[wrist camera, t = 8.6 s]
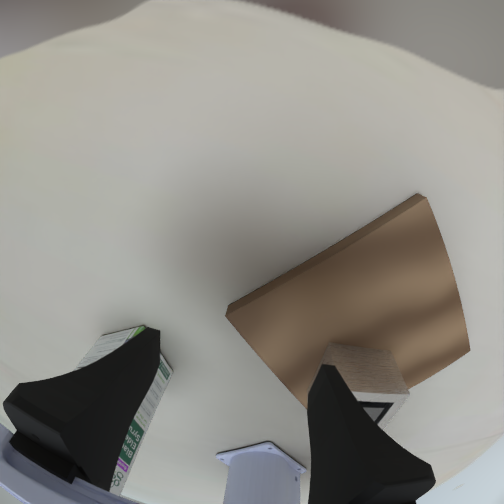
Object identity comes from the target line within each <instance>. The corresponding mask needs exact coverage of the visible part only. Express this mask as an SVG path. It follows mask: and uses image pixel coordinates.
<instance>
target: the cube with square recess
mask: <svg viewBox="0 0 504 504" xmlns="http://www.w3.org/2000/svg"><path fill="white" fill-rule="evenodd" d="M322 364H327V365H335V367H336V368H337V370H338V371H339V373H340V375H341V376H342V378H343V379H344V381H345V383H346V384H347V386H348V387H349V389H350V390H351V392H352V393H353V395H354V396H355V398H356V399H357V400H358V401H368V402H383V405H384V409H383V411H382V412H381V413H380V415H379V416H378V417H377V419H376V420H375V421H374V422H375V423H376V424H377V425H378V426H379V427H380V428H381V429H382V430H383V429H384V428H385V426H386V425H387V424H388V423H389V421H390V420H391V419H392V418H393V416H394V415H395V414H396V413H397V411H398V410H399V409H400V407H401V406H402V405H403V403H404V402H405V401H406V399H407V398H408V397H409V395H410V393H409V391H408V388H407V386H406V384H405V381H404V379H403V377H402V374H401V372H400V370H399V368H398V365H397V363H396V361H395V359H394V356H393V354H392V352H391V351H387V350H379V349H371V348H364V347H357V346H350V345H343V344H336V343H330V342H329V344H328V346H327V348H326V350H325V353H324V355H323V357H322V359H321V362H320V364H319V366H318V368H317V370H316V372H315V374H314V377H313V379H312V381H311V383H310V385H309V387H308V389H307V403H308V393H309V391H310V389H311V386H312V384H313V382H314V380H315V378H316V376H317V374H318V371H319V369H320V367H321V365H322Z"/></svg>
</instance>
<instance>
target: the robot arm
mask: <svg viewBox="0 0 504 504" xmlns="http://www.w3.org/2000/svg"><path fill="white" fill-rule="evenodd" d="M159 365H160V331H159V330H156V329H152V328H149V327H147V328H145V329H144V330H143V331H141V332H140V333H138V334H137V335H136V336H134V337H133V338H132V339H130V340H129V341H127V342H126V343H124V344H123V345H121V346H120V347H119V348H117V349H116V350H114V351H112V352H111V353H109V354H107V355H106V356H104V357H102V358H101V359H99V360H97V361H95V362H93V363H91V364H89V365H87V366H85V367H83V368H80V369H78V370H75V371H72V372H70V373H67V374H64V375H61V376H57V377H54V378H50V379H45V380H40V381H34V382H27V383H19V384H18V385H17V386H16V387H15V389H14V390H13V391H12V392H11V393H10V395H9V396H8V397H7V398H6V399H5V401H4V402H3V407H4V410H5V412H6V414H7V416H8V417H9V419H10V420H11V422H12V423H13V425H14V426H15V428H16V429H17V431H16V432H15V434H13V433H12V432H11V431H10V430H8V429H7V428H6V427H5V426H3V425H2V424H1V423H0V486H1V487H2V488H4V489H5V490H6V491H7V492H9V493H10V494H11V495H13V496H14V497H15V498H17V499H18V500H19V501H21V502H22V503H24V504H139V503H136V502H133V501H131V500H128V499H125V498H123V497H120V496H117V495H115V494H112V493H110V487H111V484H112V480H113V476H114V472H115V469H116V465H117V462H118V459H119V455H120V453H121V450H122V447H123V444H124V441H125V438H126V436H127V433H128V430H129V428H130V425H131V423H132V421H133V418H134V416H135V415H136V413H137V411H138V409H139V407H140V405H141V403H142V402H143V400H144V398H145V396H146V394H147V392H148V391H149V389H150V387H151V385H152V383H153V381H154V378H155V376H156V373H157V371H158V368H159ZM307 416H308V426H309V437H310V447H311V478H310V491H309V500H308V504H416V500H417V499H418V498H419V497H421V496H422V495H424V494H425V493H426V492H428V491H429V490H430V489H431V488H432V487H433V486H434V485H435V482H436V480H435V477H434V473H433V470H432V467H431V465H430V464H428V463H426V462H425V461H423V460H421V459H419V458H418V457H416V456H414V455H413V454H411V453H410V452H408V451H407V450H406V449H404V448H403V447H401V446H400V445H399V444H398V443H396V442H395V441H394V440H393V439H392V438H391V437H389V436H388V435H387V434H386V433H385V432H384V431H383V430H382V429H381V428H380V427H379V426H378V425H377V424H376V423H375V422H374V421H373V419H372V418H371V417H370V416H369V415H368V413H367V412H366V411H365V410H364V408H363V407H362V406H361V404H360V403H359V402H358V400H357V399H356V398H355V396H354V395H353V393H352V392H351V390H350V389H349V387H348V386H347V384H346V383H345V381H344V379H343V378H342V376H341V375H340V373H339V371H338V370H337V368H336V367H335V365H327V364H322V365H321V367H320V369H319V371H318V374H317V376H316V378H315V380H314V382H313V384H312V386H311V389H310V391H309V393H308V404H307ZM216 458H217V459H219V460H220V461H222V462H223V463H225V464H226V465H228V466H229V472H228V478H227V484H226V490H225V496H224V502H223V504H300V474H301V473H305V472H306V468H304V467H303V466H301V465H300V464H299V463H297V462H296V461H294V460H293V459H292V458H290V457H289V456H288V455H286V454H285V453H284V452H282V451H281V450H280V449H279V448H277V447H276V446H275V445H273V444H272V443H270V442H266V443H262V444H258V445H254V446H251V447H246V448H242V449H238V450H234V451H229V452H224V453H219V454H217V455H216Z"/></svg>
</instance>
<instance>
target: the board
mask: <svg viewBox="0 0 504 504" xmlns="http://www.w3.org/2000/svg"><path fill="white" fill-rule="evenodd" d="M225 316H226V318H227V319H228V320H229V321H230V323H231V324H232V325H233V326H234V327H235V329H236V330H237V331H238V332H239V333H240V335H241V336H242V337H243V338H244V339H245V340H246V342H247V343H248V344H249V345H250V346H251V348H252V349H253V350H254V351H255V352H256V353H257V354H258V356H259V357H260V358H261V359H262V360H263V361H264V363H265V364H266V365H267V366H268V367H269V368H270V369H271V371H272V372H273V373H274V374H275V375H276V376H277V377H278V378H279V380H280V381H281V382H282V383H283V384H284V385H285V386H286V387H287V388H288V389H289V391H290V392H291V393H292V394H293V395H294V396H295V397H296V398H297V399H298V400H299V401H300V403H301V404H302V405H303V406H304V407H305V408H306V409H307V404H308V403H307V389H308V387H309V385H310V383H311V381H312V379H313V377H314V374H315V372H316V370H317V368H318V366H319V364H320V362H321V359H322V357H323V355H324V353H325V350H326V348H327V346H328V344H329V342H330V343H336V344H343V345H350V346H357V347H364V348H371V349H379V350H387V351H391V352H392V354H393V356H394V359H395V361H396V363H397V365H398V368H399V370H400V372H401V374H402V377H403V379H404V381H405V384H406V386H407V388H408V389H410V388H411V387H413V386H415V385H417V384H419V383H420V382H422V381H424V380H426V379H427V378H429V377H431V376H432V375H434V374H436V373H437V372H439V371H440V370H442V369H444V368H445V367H447V366H448V365H450V364H451V363H453V362H454V361H456V360H457V359H459V358H460V357H462V356H463V355H465V354H466V353H468V352H469V351H470V345H469V339H468V333H467V328H466V323H465V318H464V313H463V309H462V304H461V300H460V296H459V292H458V288H457V284H456V281H455V277H454V274H453V270H452V267H451V263H450V260H449V257H448V254H447V251H446V248H445V245H444V242H443V239H442V236H441V233H440V230H439V228H438V225H437V222H436V220H435V217H434V214H433V212H432V209H431V207H430V204H429V202H428V200H427V197H424V196H422V195H420V194H415V195H414V196H412V197H411V198H409V199H408V200H406V201H404V202H403V203H401V204H400V205H398V206H397V207H395V208H393V209H392V210H390V211H389V212H387V213H385V214H384V215H382V216H381V217H379V218H377V219H376V220H374V221H373V222H371V223H369V224H368V225H366V226H364V227H363V228H361V229H359V230H358V231H356V232H355V233H353V234H351V235H350V236H348V237H346V238H345V239H343V240H341V241H340V242H338V243H336V244H335V245H333V246H331V247H330V248H328V249H326V250H325V251H323V252H321V253H319V254H318V255H316V256H314V257H313V258H311V259H309V260H308V261H306V262H304V263H302V264H301V265H299V266H297V267H296V268H294V269H292V270H290V271H289V272H287V273H285V274H283V275H282V276H280V277H278V278H276V279H275V280H273V281H271V282H269V283H268V284H266V285H264V286H262V287H261V288H259V289H257V290H255V291H253V292H252V293H250V294H248V295H246V296H244V297H243V298H241V299H239V300H237V301H235V302H234V303H232V304H230V305H228V308H227V312H226V315H225Z"/></svg>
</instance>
